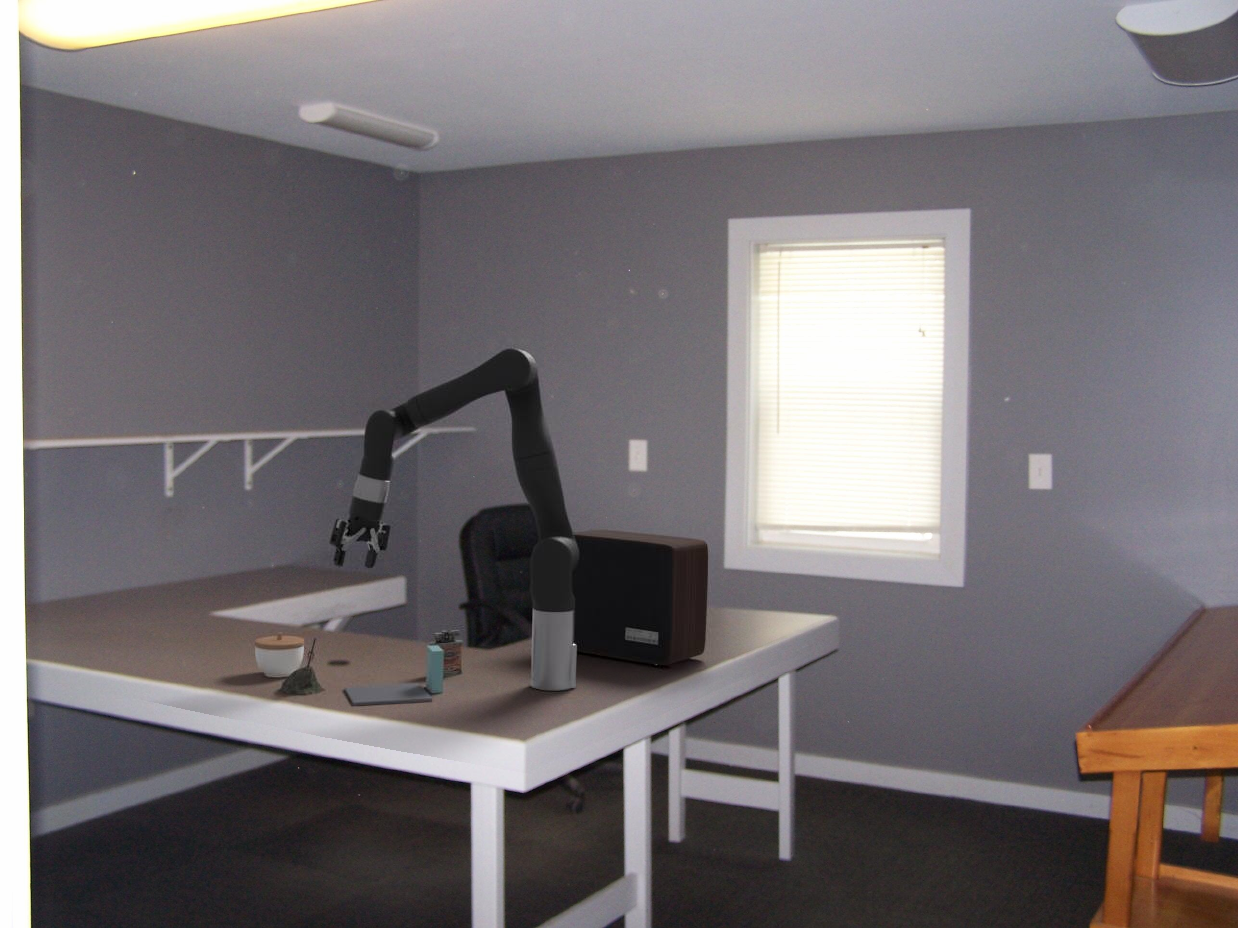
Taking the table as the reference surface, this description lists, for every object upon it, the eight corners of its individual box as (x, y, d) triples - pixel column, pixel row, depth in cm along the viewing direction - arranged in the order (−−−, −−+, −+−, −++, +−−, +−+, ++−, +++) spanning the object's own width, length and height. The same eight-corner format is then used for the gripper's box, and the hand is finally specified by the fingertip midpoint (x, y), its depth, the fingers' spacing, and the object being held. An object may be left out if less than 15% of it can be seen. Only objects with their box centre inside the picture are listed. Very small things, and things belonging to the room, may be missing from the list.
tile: (436, 686, 266) (437, 645, 266) (442, 692, 260) (443, 650, 260) (426, 686, 265) (426, 645, 265) (431, 693, 260) (432, 651, 259)
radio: (708, 659, 303) (712, 539, 302) (671, 671, 289) (675, 544, 287) (590, 640, 324) (593, 527, 322) (549, 650, 309) (552, 532, 307)
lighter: (433, 677, 274) (434, 633, 274) (426, 674, 277) (427, 630, 276) (464, 673, 279) (465, 630, 278) (457, 670, 282) (458, 628, 281)
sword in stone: (269, 690, 259) (270, 635, 258) (298, 684, 265) (299, 630, 264) (301, 698, 253) (302, 641, 252) (330, 691, 259) (331, 636, 259)
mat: (419, 685, 266) (419, 683, 266) (432, 701, 253) (432, 698, 253) (344, 689, 260) (344, 686, 260) (353, 705, 247) (353, 702, 247)
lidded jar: (285, 667, 280) (285, 626, 280) (313, 674, 274) (314, 633, 273) (244, 674, 272) (245, 632, 272) (272, 682, 265) (273, 639, 265)
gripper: (354, 498, 265) (337, 570, 266) (404, 503, 276) (388, 572, 277) (334, 490, 270) (317, 560, 271) (384, 495, 281) (368, 563, 282)
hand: (353, 566), depth 274 cm, fingers open, 8 cm apart
